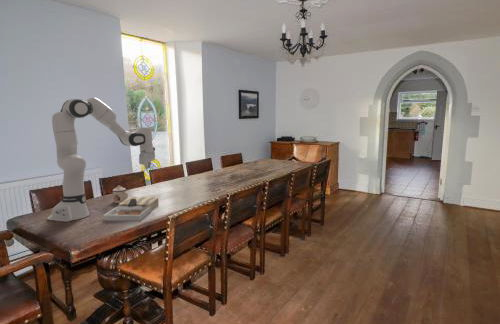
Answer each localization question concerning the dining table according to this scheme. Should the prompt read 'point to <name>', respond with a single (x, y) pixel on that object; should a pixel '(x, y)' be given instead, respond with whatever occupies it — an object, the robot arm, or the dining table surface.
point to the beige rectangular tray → (142, 201)
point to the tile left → (123, 213)
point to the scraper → (130, 207)
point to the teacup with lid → (119, 194)
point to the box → (114, 215)
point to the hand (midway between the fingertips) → (147, 168)
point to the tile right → (135, 213)
